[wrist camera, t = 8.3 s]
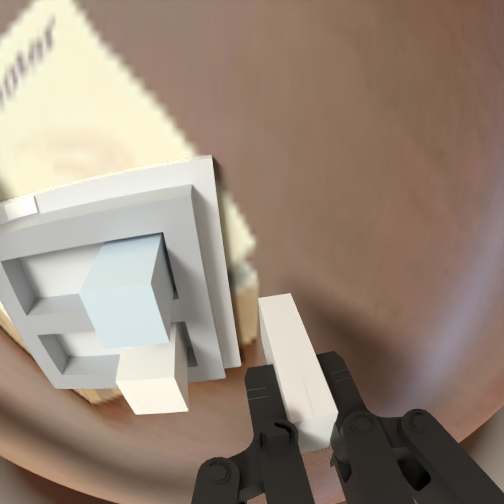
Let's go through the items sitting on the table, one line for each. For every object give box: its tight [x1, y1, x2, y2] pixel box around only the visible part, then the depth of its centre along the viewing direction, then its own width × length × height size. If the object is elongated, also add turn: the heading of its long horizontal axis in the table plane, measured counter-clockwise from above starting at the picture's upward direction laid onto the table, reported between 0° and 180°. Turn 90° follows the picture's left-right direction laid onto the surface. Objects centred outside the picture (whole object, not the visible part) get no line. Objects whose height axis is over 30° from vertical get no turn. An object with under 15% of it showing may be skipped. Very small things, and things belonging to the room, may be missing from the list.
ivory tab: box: [115, 322, 189, 414], centre depth 22 cm, size 4×4×7 cm
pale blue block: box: [79, 232, 174, 349], centre depth 18 cm, size 4×4×7 cm
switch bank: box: [0, 155, 241, 389], centre depth 22 cm, size 20×19×4 cm
